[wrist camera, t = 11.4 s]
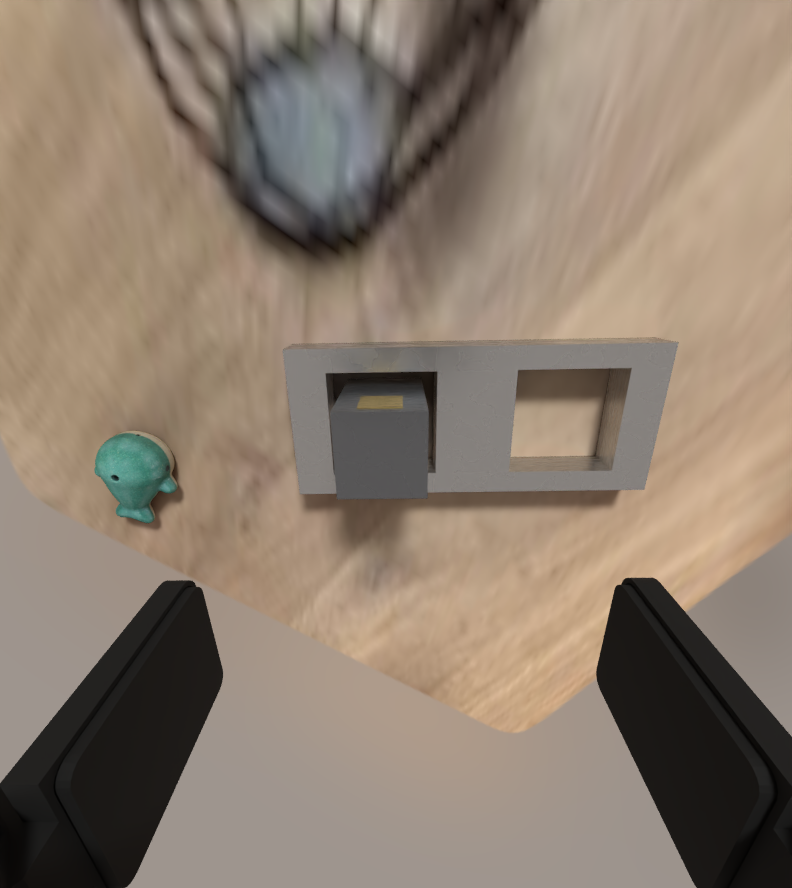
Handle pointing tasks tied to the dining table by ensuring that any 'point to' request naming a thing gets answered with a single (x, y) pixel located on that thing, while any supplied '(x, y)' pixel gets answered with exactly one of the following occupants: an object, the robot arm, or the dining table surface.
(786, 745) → the robot arm
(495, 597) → the dining table surface
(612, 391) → the rail
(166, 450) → the whale figurine
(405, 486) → the block
